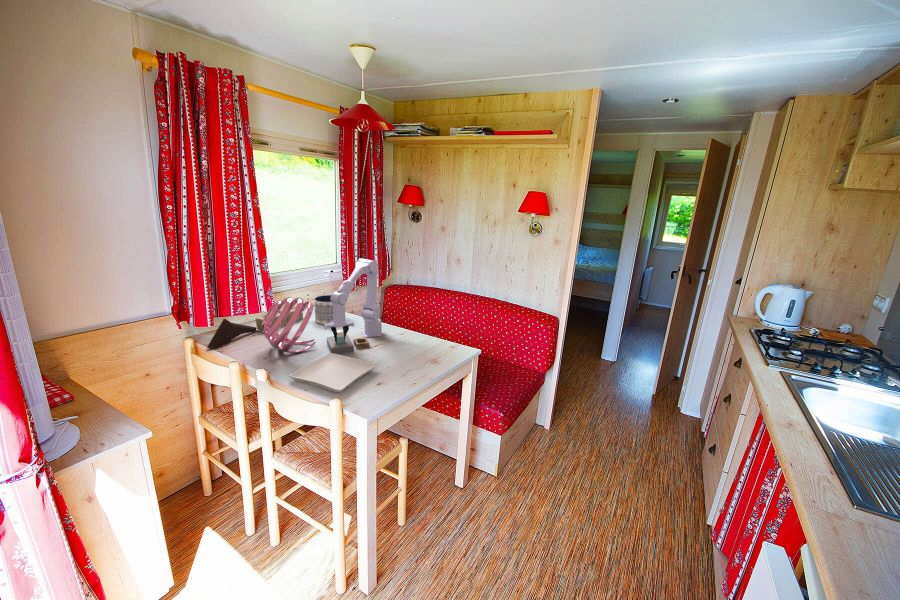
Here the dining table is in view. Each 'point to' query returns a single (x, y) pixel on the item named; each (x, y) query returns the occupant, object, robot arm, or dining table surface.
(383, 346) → the dining table surface
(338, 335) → the plug
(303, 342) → the spiral basket
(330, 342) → the port block
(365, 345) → the plug holster
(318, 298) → the planter
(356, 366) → the square plate
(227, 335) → the holster
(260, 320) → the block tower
